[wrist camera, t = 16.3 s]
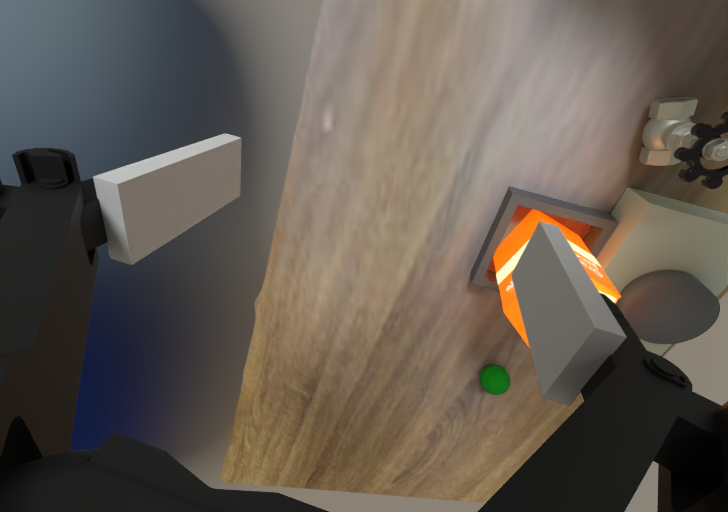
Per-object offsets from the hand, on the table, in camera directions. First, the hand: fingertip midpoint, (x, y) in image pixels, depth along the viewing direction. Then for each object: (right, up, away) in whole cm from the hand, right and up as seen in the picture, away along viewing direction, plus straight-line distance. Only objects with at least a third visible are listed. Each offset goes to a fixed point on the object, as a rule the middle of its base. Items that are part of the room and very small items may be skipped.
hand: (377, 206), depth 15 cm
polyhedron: (+23, -22, +48) cm, 58 cm away
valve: (+33, +13, +25) cm, 44 cm away
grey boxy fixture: (+30, -3, +34) cm, 46 cm away
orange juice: (+24, 0, +35) cm, 42 cm away
